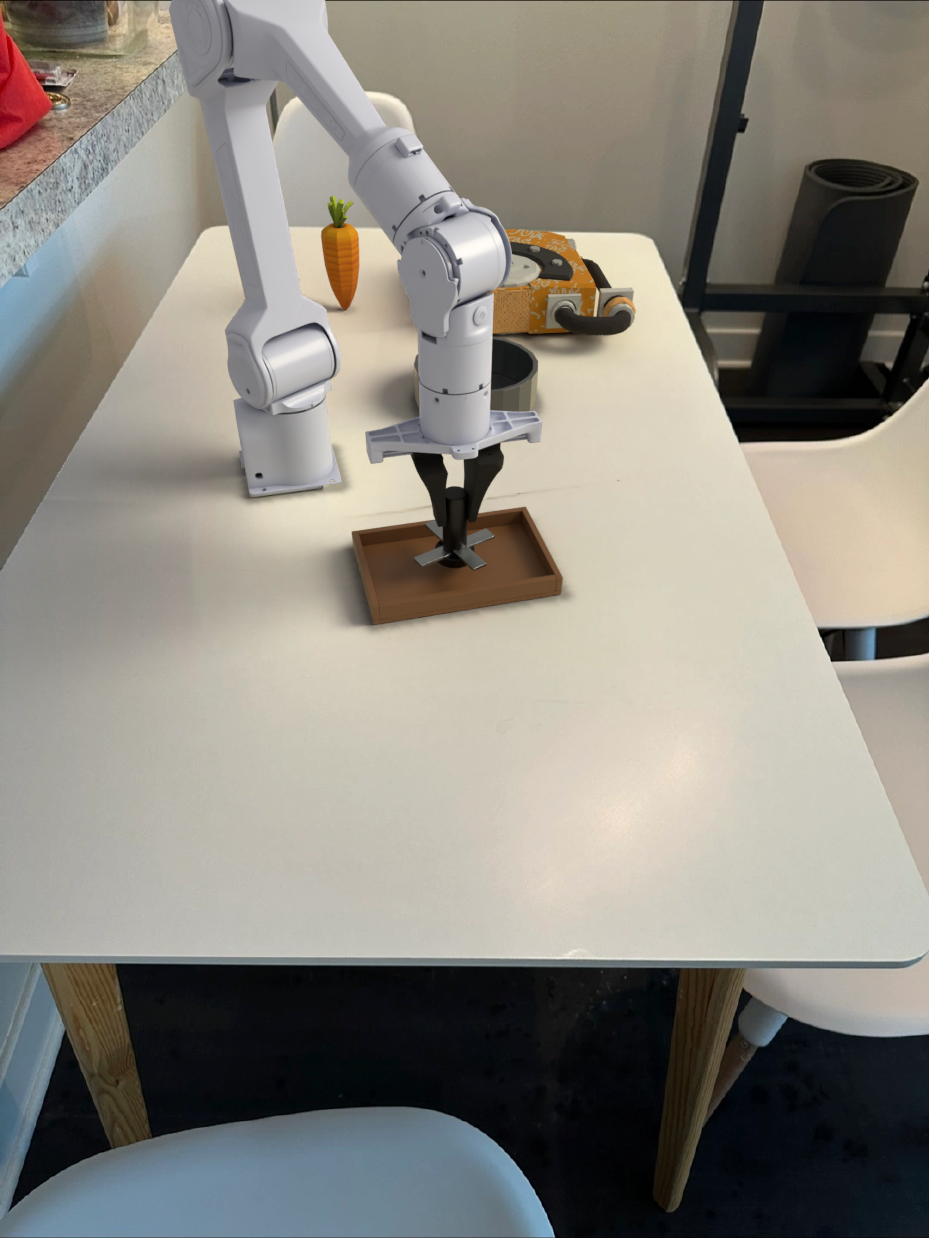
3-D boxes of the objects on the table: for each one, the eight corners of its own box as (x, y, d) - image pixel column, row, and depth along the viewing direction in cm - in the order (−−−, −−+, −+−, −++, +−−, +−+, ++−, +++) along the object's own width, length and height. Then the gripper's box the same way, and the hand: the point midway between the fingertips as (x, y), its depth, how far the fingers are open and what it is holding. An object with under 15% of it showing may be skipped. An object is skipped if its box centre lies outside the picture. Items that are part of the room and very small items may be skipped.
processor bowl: (430, 440, 102) (429, 399, 98) (404, 380, 112) (403, 342, 109) (551, 424, 105) (554, 385, 101) (515, 368, 115) (517, 330, 111)
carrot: (330, 301, 129) (320, 189, 119) (365, 302, 129) (358, 190, 119) (325, 316, 125) (314, 202, 115) (361, 317, 125) (353, 203, 115)
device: (593, 212, 133) (649, 295, 111) (588, 268, 139) (640, 359, 117) (439, 216, 131) (465, 303, 109) (440, 274, 136) (464, 367, 114)
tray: (373, 625, 79) (372, 607, 78) (353, 547, 87) (351, 531, 86) (561, 594, 83) (563, 577, 81) (524, 522, 91) (525, 506, 89)
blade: (421, 590, 80) (419, 526, 75) (403, 536, 86) (400, 474, 81) (508, 576, 82) (512, 512, 77) (485, 525, 87) (487, 462, 83)
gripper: (372, 413, 67) (382, 557, 77) (558, 391, 70) (546, 532, 79) (357, 369, 73) (367, 509, 82) (531, 350, 75) (522, 488, 84)
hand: (454, 518), depth 81 cm, fingers closed on blade, 2 cm apart
